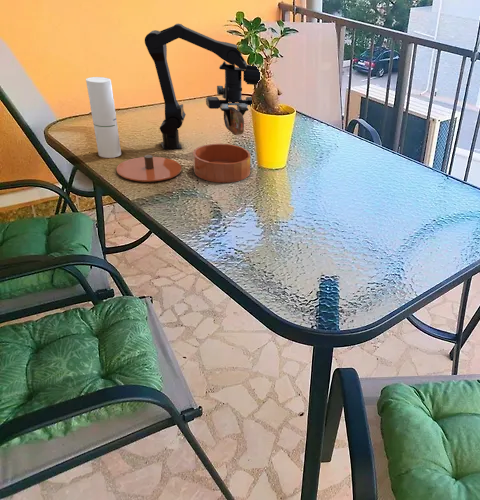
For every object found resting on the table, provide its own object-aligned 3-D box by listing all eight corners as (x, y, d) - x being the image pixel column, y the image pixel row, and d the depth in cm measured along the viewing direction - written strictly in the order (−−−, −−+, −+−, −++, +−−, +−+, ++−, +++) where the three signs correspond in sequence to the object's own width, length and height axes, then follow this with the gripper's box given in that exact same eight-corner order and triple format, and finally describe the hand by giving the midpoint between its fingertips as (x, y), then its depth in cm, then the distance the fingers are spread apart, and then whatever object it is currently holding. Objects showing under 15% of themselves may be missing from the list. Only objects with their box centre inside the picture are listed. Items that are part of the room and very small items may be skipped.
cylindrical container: (125, 152, 164) (115, 79, 151) (114, 158, 158) (103, 83, 145) (105, 149, 165) (94, 75, 152) (94, 155, 158) (81, 80, 145)
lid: (115, 161, 157) (112, 146, 154) (176, 158, 165) (175, 144, 163) (119, 185, 142) (116, 170, 140) (186, 180, 151) (185, 166, 148)
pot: (189, 162, 164) (188, 144, 160) (242, 159, 172) (242, 142, 168) (200, 184, 150) (199, 165, 146) (256, 180, 158) (257, 162, 155)
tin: (223, 125, 180) (222, 103, 175) (231, 124, 181) (230, 103, 177) (237, 138, 169) (236, 115, 165) (246, 137, 171) (245, 115, 166)
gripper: (252, 78, 176) (251, 118, 184) (202, 76, 168) (203, 119, 176) (261, 85, 168) (260, 127, 176) (208, 84, 160) (210, 129, 168)
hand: (233, 125), depth 174 cm, fingers closed on tin, 3 cm apart
